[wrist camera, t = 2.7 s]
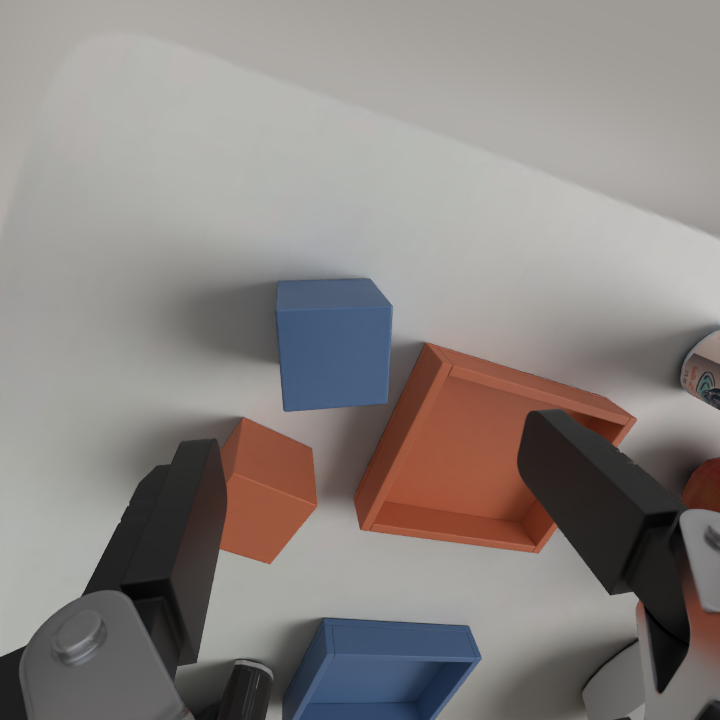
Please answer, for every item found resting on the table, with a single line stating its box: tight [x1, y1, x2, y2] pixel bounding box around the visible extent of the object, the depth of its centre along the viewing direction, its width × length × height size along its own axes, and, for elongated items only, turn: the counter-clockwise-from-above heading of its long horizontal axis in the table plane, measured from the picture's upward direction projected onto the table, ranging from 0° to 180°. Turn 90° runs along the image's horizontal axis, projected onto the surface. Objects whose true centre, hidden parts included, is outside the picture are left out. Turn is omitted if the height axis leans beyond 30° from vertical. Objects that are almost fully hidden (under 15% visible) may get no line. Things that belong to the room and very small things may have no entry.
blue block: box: [275, 279, 393, 412], centre depth 17 cm, size 4×4×4 cm
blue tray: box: [282, 618, 482, 720], centre depth 32 cm, size 13×11×2 cm
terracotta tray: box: [354, 343, 637, 553], centre depth 23 cm, size 13×11×2 cm
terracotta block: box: [220, 417, 317, 564], centre depth 20 cm, size 4×4×4 cm
